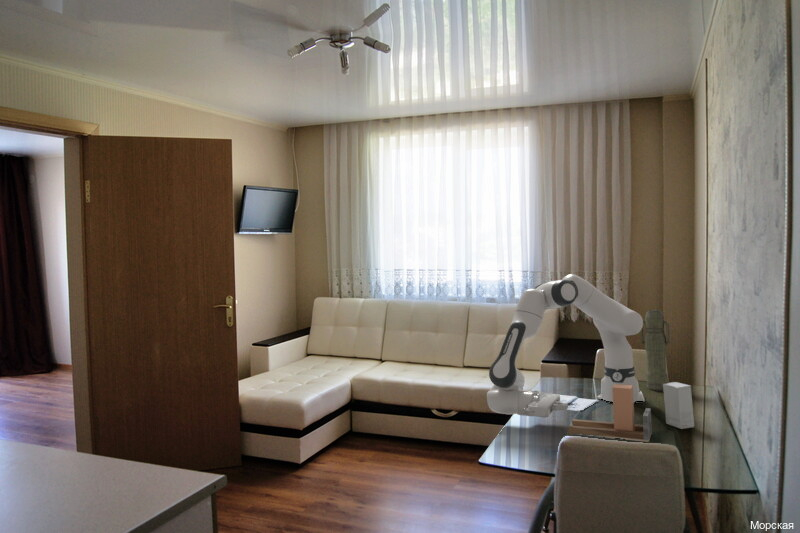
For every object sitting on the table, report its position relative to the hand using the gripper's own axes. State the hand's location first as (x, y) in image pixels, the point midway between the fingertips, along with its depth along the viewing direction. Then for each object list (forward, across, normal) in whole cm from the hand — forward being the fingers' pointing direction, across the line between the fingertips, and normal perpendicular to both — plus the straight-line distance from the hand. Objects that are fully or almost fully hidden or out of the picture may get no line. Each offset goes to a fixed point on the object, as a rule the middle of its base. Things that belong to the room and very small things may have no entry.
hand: (567, 406), depth 214 cm
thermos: (+24, +72, +8) cm, 77 cm away
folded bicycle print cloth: (-8, +35, +9) cm, 37 cm away
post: (+19, 0, +8) cm, 21 cm away
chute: (+13, 0, +8) cm, 16 cm away
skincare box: (+35, +17, +8) cm, 40 cm away
